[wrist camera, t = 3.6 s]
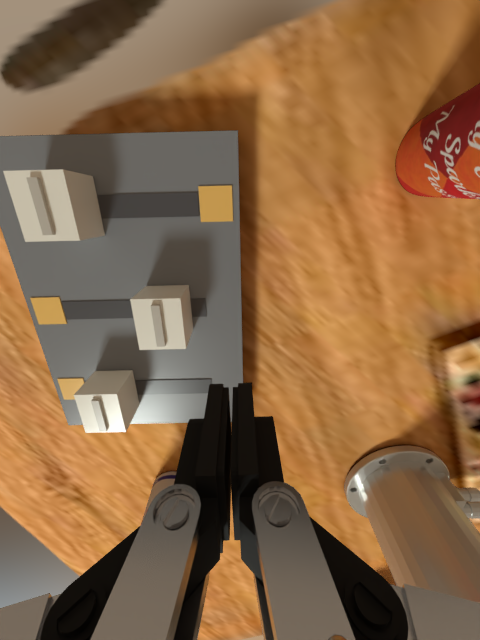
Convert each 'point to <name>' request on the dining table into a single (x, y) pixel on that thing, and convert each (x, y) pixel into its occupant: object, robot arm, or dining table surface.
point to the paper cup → (444, 151)
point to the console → (136, 263)
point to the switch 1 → (55, 205)
